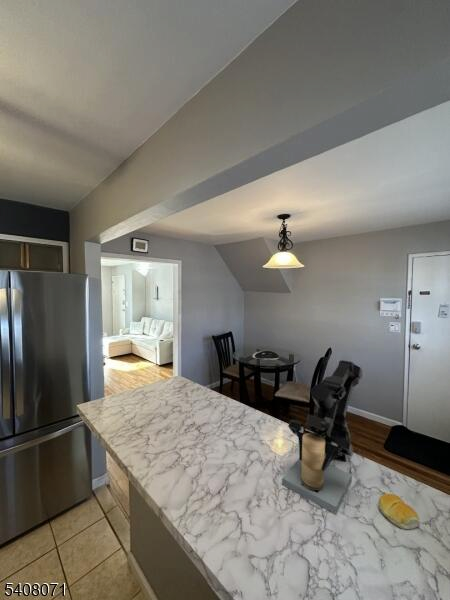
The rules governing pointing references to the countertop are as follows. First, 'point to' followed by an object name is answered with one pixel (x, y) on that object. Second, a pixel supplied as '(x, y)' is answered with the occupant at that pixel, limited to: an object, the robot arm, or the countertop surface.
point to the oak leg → (313, 461)
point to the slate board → (329, 494)
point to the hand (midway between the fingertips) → (311, 465)
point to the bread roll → (398, 511)
